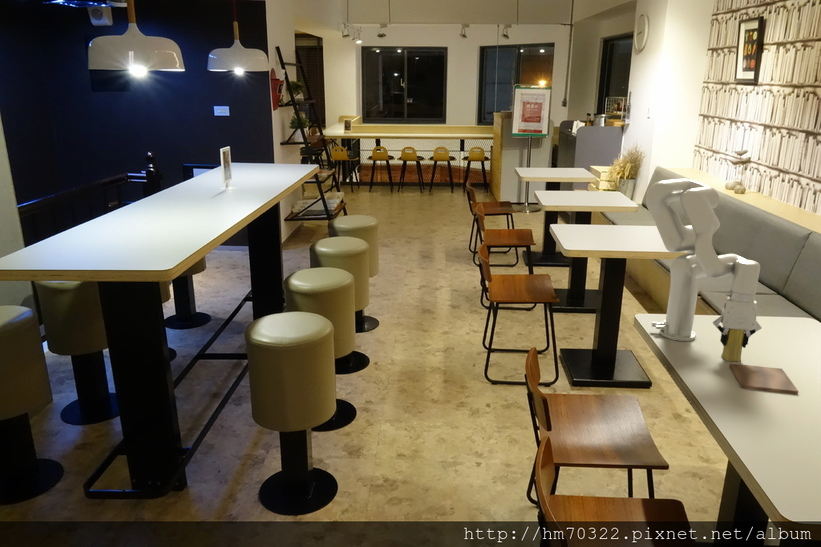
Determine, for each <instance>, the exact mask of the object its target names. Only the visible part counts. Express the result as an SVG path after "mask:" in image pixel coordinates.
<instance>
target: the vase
mask: <svg viewBox="0 0 821 547" xmlns="http://www.w3.org/2000/svg"><path fill="white" fill-rule="evenodd" d="M744 333H745V330H739V329H729V330H728V332H727V342H726V346H723V349H722V354H721V355H720V356H721V358H722V359H724V360H726V361H729V362H734V363H735V362H736V363H737V362H740V361H741V359H742V352H743V347H742V345H743V338H744Z"/></svg>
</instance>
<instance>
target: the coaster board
mask: <svg viewBox="0 0 821 547" xmlns="http://www.w3.org/2000/svg"><path fill="white" fill-rule="evenodd" d="M729 368H730V369H731V372H732V373H733V375H734V376H735V378H736V380H737V382H738V384H739V385H740V388H741V389H747V390H757V391H764V392H775V393H783V394H785V393H786V394H793V395H798V394H799V390H798V388H797V387H796V386H795V384H794V383H793V382H792V380H791V379H790V378H789V376H788V375H787V373H786V372H785V371H784V369H783V368H779V367H768V366H760V365H749V364H741V363H739V364H738V363H730V362H729Z"/></svg>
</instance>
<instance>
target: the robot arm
mask: <svg viewBox="0 0 821 547" xmlns="http://www.w3.org/2000/svg"><path fill="white" fill-rule="evenodd" d="M645 195H646V196H645V204H646V208H647V210H648V212H649V214H650V216H651V217H652V220H653V221H654V223H655V226H656V228H657V231H658V233H659V235H660V238H661V241H662V243H663V245H664V247H665V249H666V250H667V251H668V252H669V253H672V254H673V253H674V254H677V253H678V254H679V253H684V252H687V253H686V254H685V253H684V254H681V255H678V256H676V257H675V258H674V259H673V260H672V261H671V263H670V266H669V270H670V271H669V272H670V273H669V274H670V287H669V294H668V302H667V309H666V315H665V319H663V321H660V322H657V321H651V327H652V328H653V327H654V328H655V329H656V330H659V334H660V335H661V336H662V337H664V338H667V339H669V340H673V341H678V342H689V341H690V342H691V341H693V340H695V339H696V333H695V331H693V325H694V320H695V319H694V318H695V314H696V313H695V312H696V306H697V301H698V300H697V299H698V292H699V291H698V289H699V288H698V285H697V282H696V280H697V279H702V278H706V277H709V278H711V279H721V278H725V277H732V280H731V287H730V289H729V290H728V291H725V296H728V297H726V299H725V302H724V305H723V308H722V311H721V315H720V316H719V317H718V318H717V319H714V320H713V321H712V324H713V325H714V326H715V327H716V329H717V330H718V331H719V332H720V333H721V336H720V340H719V341H720V343H721V345H722V346H723V347H724V346H726V342H727V332H728V330H729V329H739V330H745V332H744V338H743V345H742V349H743V348H744V349H746V348H747V346H748V345H749V338H751V336H752V335H754V334H755V333H756V332H758V331H760V330H761V329H762V326H761V324H759V322H758V320H757V314H758V302H757V300H755V298H756V295H757V294H756V293H757V288H758V282H759V276H760V273H761V272H760V271H761V264H760V263H759V262H758V261H756V260H752V259H746V258H744V257H742V256H740V255H738V254H736V253H726V254H719V255H717V252H716V251H715V249H714V245H713V236H714V234H715V232H717V230H718V229H719V228H720V227H721V223H720V220H719V218H718V216H717V215H716V213H715V211H714V210H713V209H715V208H717V206H718V205H719V204H720V195H719V192H718V191H717V190H716V189H715V188H714V187H712V186H710V185H707V184H704V183H701V182H698V181H695V180H693V179H688V178H674V179H664V180H660V181H655V182H654V183H653V184H651V185H650V186H649V188H647V192H646V194H645ZM676 202H678V203H679V202H680V205H681V207H682V209H683V211H684V213H685V216H686V217H687V219H688V222H689V223H690V225H684V224H683V223H682V221H681V217H680V215H679V213H677V211H676V210H675V209H674V208H673V207H672V206H671V204H670V203H676ZM721 324H722V325H721Z"/></svg>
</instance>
